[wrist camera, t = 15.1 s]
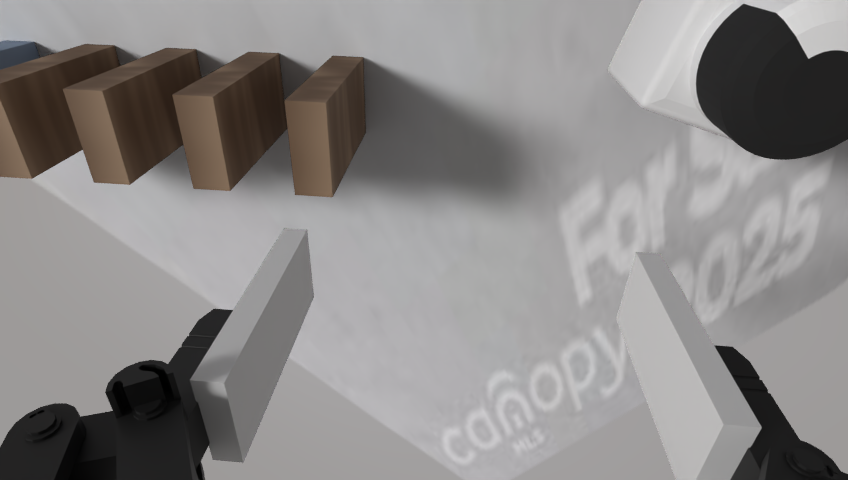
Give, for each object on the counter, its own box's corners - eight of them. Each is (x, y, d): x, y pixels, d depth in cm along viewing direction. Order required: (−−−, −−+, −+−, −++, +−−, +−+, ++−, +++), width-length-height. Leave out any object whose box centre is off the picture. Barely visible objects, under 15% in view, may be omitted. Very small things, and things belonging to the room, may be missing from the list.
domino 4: (363, 57, 33) (325, 102, 24) (365, 132, 36) (332, 197, 27) (332, 55, 33) (284, 100, 24) (337, 130, 36) (295, 194, 27)
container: (715, 110, 33) (838, 203, 22) (604, 71, 32) (673, 147, 21) (796, -18, 29) (997, 16, 18) (671, -66, 28) (801, -61, 17)
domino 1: (114, 45, 34) (-6, 85, 25) (134, 119, 36) (32, 178, 28) (84, 44, 34) (-45, 83, 25) (107, 118, 36) (-4, 176, 28)
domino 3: (278, 53, 33) (212, 96, 25) (287, 128, 36) (230, 190, 27) (248, 51, 33) (172, 94, 25) (259, 126, 36) (193, 188, 27)
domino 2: (195, 49, 33) (102, 90, 25) (210, 123, 36) (130, 184, 28) (166, 48, 34) (62, 89, 25) (182, 122, 36) (94, 182, 28)
